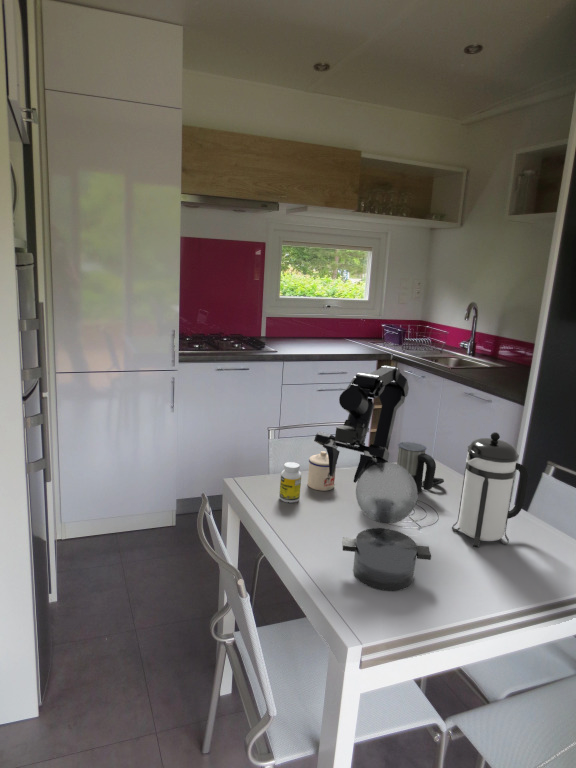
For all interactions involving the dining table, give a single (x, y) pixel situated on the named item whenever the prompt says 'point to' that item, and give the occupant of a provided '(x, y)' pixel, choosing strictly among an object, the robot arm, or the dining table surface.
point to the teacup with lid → (320, 472)
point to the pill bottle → (290, 482)
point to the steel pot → (385, 558)
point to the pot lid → (386, 492)
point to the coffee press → (490, 489)
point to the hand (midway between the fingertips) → (342, 479)
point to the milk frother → (418, 464)
